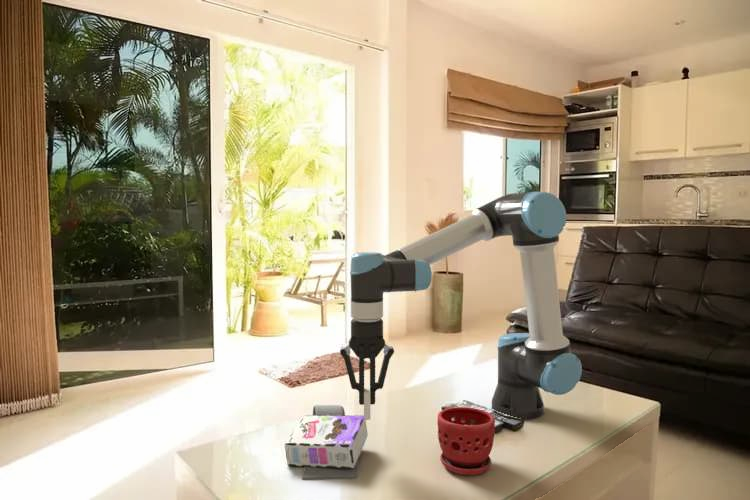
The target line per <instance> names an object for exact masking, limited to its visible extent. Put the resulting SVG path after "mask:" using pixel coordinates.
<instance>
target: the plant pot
mask: <svg viewBox="0 0 750 500" xmlns="http://www.w3.org/2000/svg"><path fill="white" fill-rule="evenodd" d="M453 418H454V419H453ZM452 419H453V420H452ZM462 420H464V421H462ZM471 421H474V424H472V423H471ZM495 422H496V421H495V417H494V416H493V414H491V413H490V412H488V411H485V410H483V409H480V408H474V407H467V406H465V407H464V406H456V407H447V408H444V409H442V410H441V411H439V412H438V413H437V439H438V443H439V447H440V450H441V452H442V453H441V454H440V456H439V457H440V462H441V464H442V465H443V467H445V468H446V469H447V470H449V471H451V472H453V473H455V474H457V475H464V476H465V475H467V476H474V475H478V474H479V475H480V474H481V473H484V472H486V471H487V470H488V469H489V468H490V467H491V464H492V458H491V457H490V454H491V452H492V449H493V446H494V440H495V429H496V427H495V425H496V424H495Z"/></svg>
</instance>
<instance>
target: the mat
mask: <svg viewBox="0 0 750 500" xmlns="http://www.w3.org/2000/svg"><path fill="white" fill-rule="evenodd" d="M357 466H358V461H357V462H356V464H355V466H354V468H337V467H309V466H304V469H303V472H302V478H301V479H302V480H333V479H334V480H338V479H340V480H341V479H343V480H344V479H345V480H346V479H358V477H357V471H358V468H357Z"/></svg>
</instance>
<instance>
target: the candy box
mask: <svg viewBox="0 0 750 500" xmlns="http://www.w3.org/2000/svg"><path fill="white" fill-rule="evenodd" d="M368 434H369V433H368V427H367V421H366V420H364V415H345V416H313V415H304V416H303V418H302V419H301V420H300V422H299V423H298V425H297V426H296V428H294V430H293V432H292V434H290V436H289V438H288V439H287V440H286V442H285V443H284V450H285V457H286V465H287V466H290V467H305V466H309V467H337V468H354V466H355V464H356V462H357V463H358V459H359V458H360V454H361V453H362V449H363V448H364V446H365V443H366V440H367V438H368Z"/></svg>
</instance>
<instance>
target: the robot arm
mask: <svg viewBox="0 0 750 500" xmlns="http://www.w3.org/2000/svg"><path fill="white" fill-rule="evenodd" d="M566 224H567V211H566V208H565V206H564V204H563V201H561V200H560V198H558V197H557V196H556V195H554V194H553V193H551V192H547V191H532V192H530V191H529V192H523V193H521V192H520V193H508V194H505V195H502V196H500V197H497V198H496V199H494V200H492V201H490V202H488V203H485V204H484V205H482V206H479V207H477V208H476V209H473V210H472V211H471V213H470V215H469V216H466V217H465V218H462V219H461V220H458V221H455V222H454V223H452V224H450V225H448V226H447V225H446V226H445V227H443V228H441V229H439V230H437V231H434V232H432V233H431V234H428V235H426V236H424V237H422V238H420V239H418V240H415V241H413V242H411V243H409V244H407V245H405V246H402V247H400V248H399V249H396V250H394V251H392V252H388V254H386V255H385V254H382V253H381V252H372V251H371V252H370V251H369V252H366V251H365V252H356V253H353V254H352V256H351V258H350V259H351V261H350V270H349V271H350V272H349V273H350V317H351V318H352V319H351V320H350V339H349V341H348V344H346V345H345V346H341V347H340V348H339V349H340V350H339V354H340V355H341V357H342V358H343V360H344V363H345V367H346V370H347V371H346V372H347V375H348V379H349V383H350V387H351V389H352V390H357V392H358V401H359V402H358V403H359V406H361V405H363V416H364V420H369V421H370V420H371V405H375V403H376V393H377V392H376V391H377V390H381V389H383V388H384V385H385V379H386V378H387V372H388V368H389V363H390V360H391V358H392V357H393V355H394V354H395V349H394V346H389V344H387V343H386V340H385V339H384V321H383V319H382V318H383V317H384V293H397V292H398V293H401V292H414V293H415V292H419V291H426V290H427V289H428V288H429V287H430V286H431V283H432V279H433V277H432V276H433V275H432V273H433V272H432V268H431V265H433V264H435V263H438V262H439V261H441V260H443V259H445V258H447V257H449V256H452V255H454V254H456V253H457V252H459V251H462V250H464V249H466V248H468V247H470V246H472V245H474V244H476V243H479V242H480V241H484V242H488V241H491V240H493V239H495V238H499V237H504V236H505V237H506V236H512V245H513V247H514V248H515V249H517V250H518V251H519V253H520V262H521V263H520V264H521V273H522V281H523V289H524V290H523V291H524V298H525V309H526V316H527V323H528V326H527V327H528V332H523V333H522V332H514V333H513V332H512V333H505V334H501V335H500V336H499V338H498V341H497V343H498V344H497V384H496V387H495V391H494V394H493V396H492V399H491V409H494V410H496V411H498V412H501V413H504V414H507V415H510V416H513V417H517V418H521V419H520V420H535V419H537V418H541V417H542V416H543V415H544V414H545V404H544V401H543V397H542V394H541V391H540V389H541V390H543V391H544V392H546V393H550V394H553V395H557V396H561V395H565V394H568V393H570V392H571V391H573V390H574V388H575V387H576V385H577V384H578V383H579V381H580V379H581V376H582V372H583V368H582V367H583V366H582V362H581V360H580V359H579V357H578V356H577V355H576V354H574V353H572V351H571V344H570V343H571V342H570V339H568V337H566V336H565V335H564V333H563V332H564V331H563V324H562V314H561V306H560V304H561V303H560V296H559V295H560V294H559V288H558V287H559V286H558V285H559V284H558V277H557V276H558V275H557V267H556V258H555V247H556V245H557V244H558V243H559V242H560V234H561V233H562V232H563V231H564V227H565V226H566ZM351 350H352V352H353V353H354V354H355V356H356V357H357V358H358V382H357V379H356V374H355V371H354V367H353V363H352V360H351V356H350V355H351ZM382 351H383V354H384V355H383V359H382V363H381V367H380V371H379V376H378V380H377V382H376V358H377V357H378V355H380V353H381V352H382ZM365 359H369V388H365Z"/></svg>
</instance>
